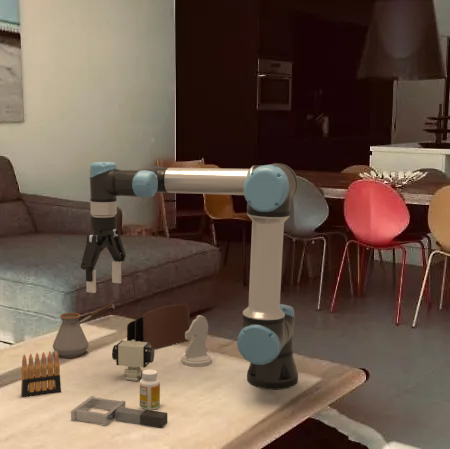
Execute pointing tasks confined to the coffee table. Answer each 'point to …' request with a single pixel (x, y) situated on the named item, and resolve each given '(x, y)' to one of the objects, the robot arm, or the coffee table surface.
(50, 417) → the coffee table surface
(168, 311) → the letter holder
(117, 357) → the pneumatic valve
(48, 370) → the ammunition clip
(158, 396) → the supplement bottle
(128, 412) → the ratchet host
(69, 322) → the coffee pot
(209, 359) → the chess piece
